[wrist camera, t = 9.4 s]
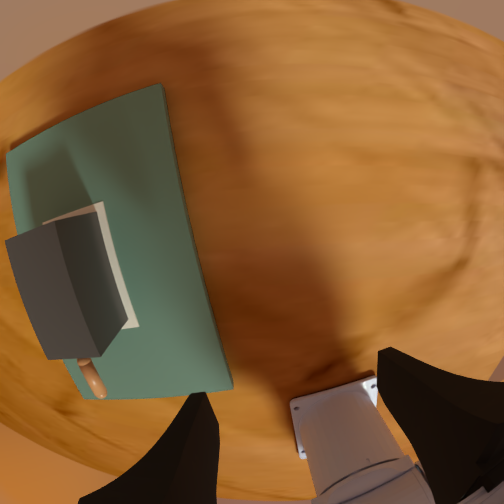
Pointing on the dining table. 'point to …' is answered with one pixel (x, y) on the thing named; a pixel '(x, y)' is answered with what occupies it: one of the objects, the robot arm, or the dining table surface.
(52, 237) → the block
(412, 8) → the dining table surface
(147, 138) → the board
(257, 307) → the dining table surface
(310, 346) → the dining table surface
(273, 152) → the dining table surface
